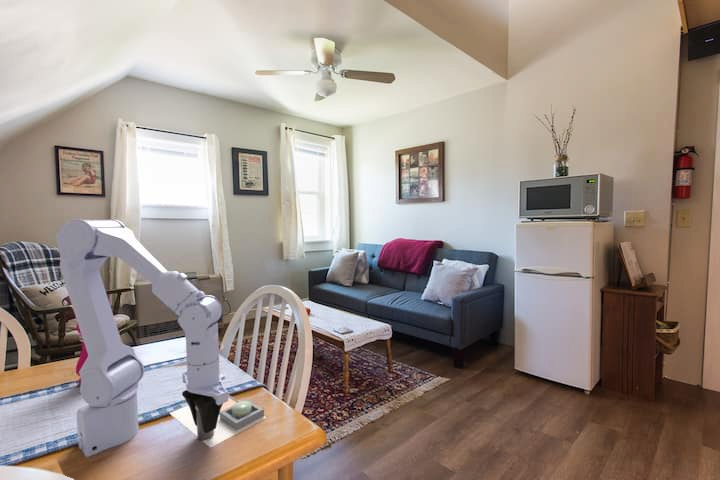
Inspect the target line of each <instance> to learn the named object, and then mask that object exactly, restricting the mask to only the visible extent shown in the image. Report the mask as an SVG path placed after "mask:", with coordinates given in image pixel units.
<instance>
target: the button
mask: <svg viewBox="0 0 720 480" xmlns="http://www.w3.org/2000/svg"><path fill="white" fill-rule="evenodd" d="M251 402H252V401H251ZM251 402H248V401H244V400H242V401H240V402H238V403H236V404H234V405H233V406H232V416H233V417H234V418H237V419H240V418H243V417H245V416H247V415H249V414H251V413H252V404H251Z"/></svg>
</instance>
